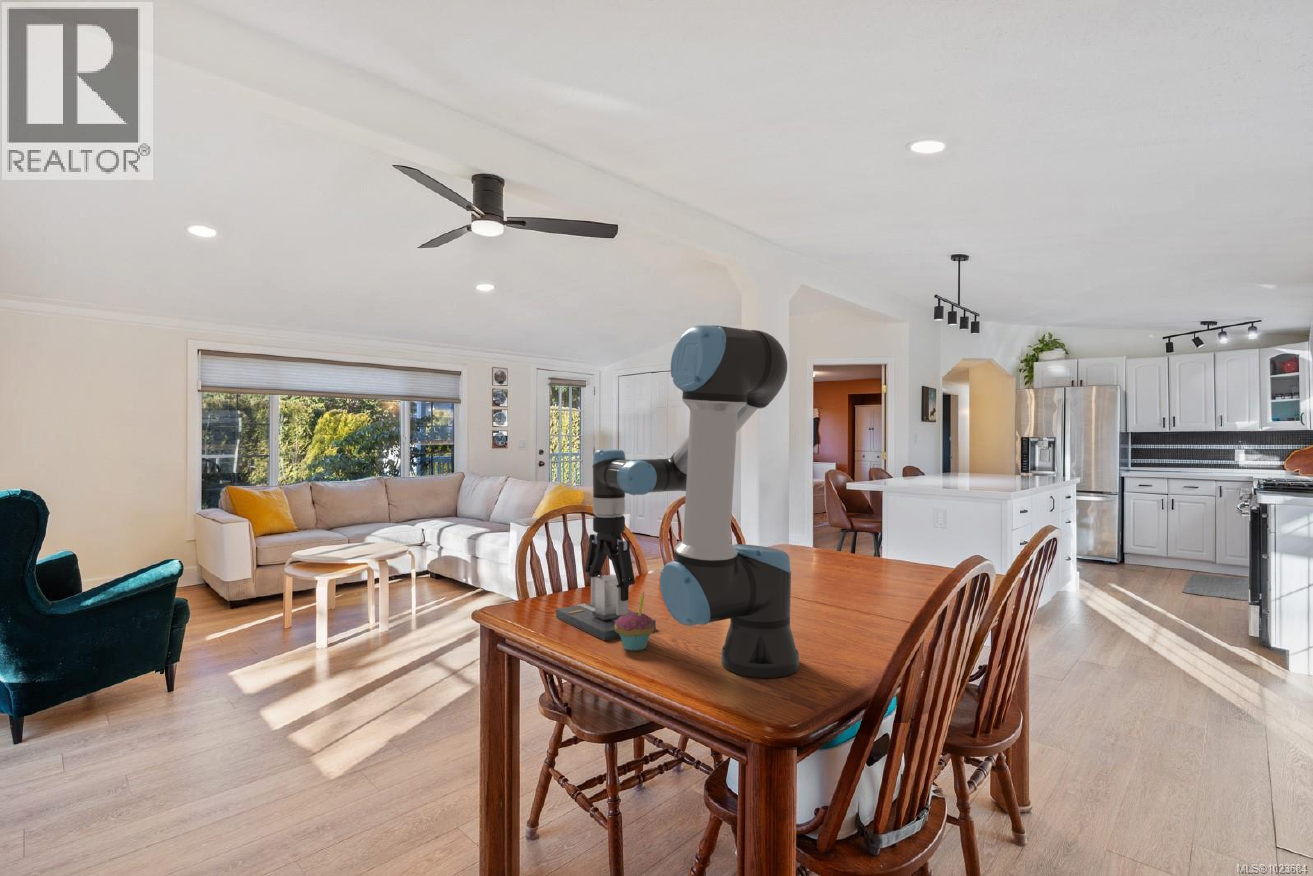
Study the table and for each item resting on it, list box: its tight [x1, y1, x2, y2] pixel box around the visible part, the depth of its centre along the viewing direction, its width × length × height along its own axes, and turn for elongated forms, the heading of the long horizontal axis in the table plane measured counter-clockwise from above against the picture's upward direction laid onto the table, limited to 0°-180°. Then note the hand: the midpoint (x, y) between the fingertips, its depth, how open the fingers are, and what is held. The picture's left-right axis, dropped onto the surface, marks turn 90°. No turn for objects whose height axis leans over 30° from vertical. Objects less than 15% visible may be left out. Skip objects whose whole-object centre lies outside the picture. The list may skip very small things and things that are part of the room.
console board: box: [555, 602, 657, 642], centre depth 152 cm, size 22×14×2 cm, turn 37°
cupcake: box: [615, 591, 655, 651], centre depth 135 cm, size 9×8×12 cm
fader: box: [592, 574, 625, 620], centre depth 151 cm, size 5×6×9 cm
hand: (608, 608), depth 151 cm, fingers open, 10 cm apart
